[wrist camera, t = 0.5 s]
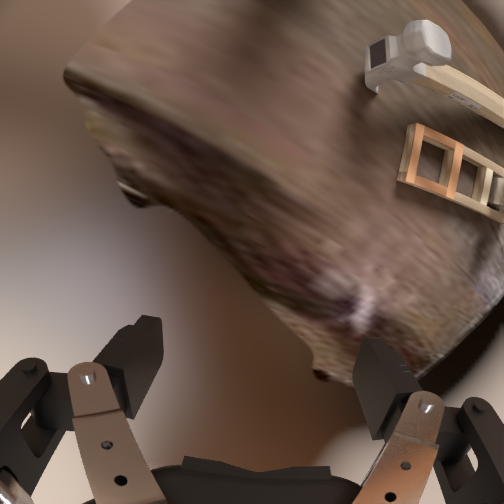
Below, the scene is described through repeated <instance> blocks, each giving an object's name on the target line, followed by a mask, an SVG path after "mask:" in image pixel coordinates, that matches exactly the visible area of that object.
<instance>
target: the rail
mask: <svg viewBox="0 0 504 504" xmlns="http://www.w3.org/2000/svg"><path fill="white" fill-rule="evenodd" d="M422 140H423V141H425V142H428V143H430V144H432V145H434V146H437V147H439V148H441V149H443V150H445V151H444V157H443V162H442V167H441V173H440V177H439V182H438V183H435V182H433V181H430V180H428V179H425V178H423V177H420V176H418V175H416V171H417V166H418V161H419V156H420V151H421V146H422ZM462 159H464V160H466V161H467V162H469V163H471V164H473V165H475V166H477V173H476V178H475V183H474V188H473V193H472V198H469V197H467V196H464V195H462V194H460V193H458V192H456V187H457V183H458V178H459V172H460V167H461V161H462ZM492 176H495V177H497V178H504V169H503V168H502V167H500V166H498V165H497V164H495V163H494V162H492V161H490V160H488V159H487V158H485V157H483V156H482V155H480V154H478V153H476V152H474V151H473V150H471V149H469V148H467V147H465V146H464V145H463V144H461V143H459V142H457V141H455V140H453V139H451V138H449V137H447V136H445V135H443V134H441V133H439V132H437V131H435V130H432V129H430V128H428V127H426V126H424V125H421V124H419V123H414V124H410V125H408V126H407V132H406V138H405V143H404V149H403V154H402V159H401V164H400V168H399V173H398V177H397V181H400V182H403V183H406V184H409V185H411V186H414V187H417V188H420V189H422V190H425V191H427V192H430V193H433V194H435V195H438V196H440V197H443V198H445V199H448V200H450V201H452V202H455V203H457V204H460V205H462V206H464V207H466V208H469V209H471V210H473V211H476V212H478V213H480V214H482V215H484V216H486V217H489V218H491V219H493V220H495V221H497V222H499V223H501V224H504V210H502V209H499V211H496V210H494V209H492V208H490V207H488V206H487V202H488V197H489V192H490V187H491V182H492Z"/></svg>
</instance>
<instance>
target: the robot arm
mask: <svg viewBox="0 0 504 504" xmlns="http://www.w3.org/2000/svg"><path fill="white" fill-rule="evenodd" d="M163 353H164V350H163V332H162V320H161V318H159V317H152V316H146V315H142V316H141V317H140V318H139V319H138V320H137V322H136V323H135V324H134V325H127V326H125V327H123V328H122V329H120V330H118V332H117V333H116V334H115V335H114V336H113V338H112V339H111V340H110V341H109V343H108V344H107V345H106V346H105V347H104V348H103V350H102V351H101V352H100V353H99V354H98V356H97V357H96V358H95V359H94V360H93V362H83V363H79V364H77V365H75V366H73V367H72V368H71V369H70V370H69V372H68V373H56V372H49V370H48V367H47V364H46V363H45V362H44V361H43V360H41V359H39V358H26V359H23V360H21V361H19V362H18V363H17V364H15V366H14V367H13V368H12V369H11V370H10V371H9V372H8V373H7V374H6V375H5V376H4V377H3V378H2V379H1V380H0V504H34V503H33V500H32V499H31V495H32V493H33V491H34V489H35V487H36V485H37V483H38V481H39V479H40V477H41V476H42V474H43V472H44V470H45V468H46V466H47V464H48V462H49V461H50V459H51V457H52V455H53V453H54V451H55V450H56V448H57V446H58V444H59V442H60V441H61V439H62V437H63V435H64V434H65V432H66V431H75V435H76V439H77V443H78V447H79V451H80V455H81V458H82V462H83V465H84V468H85V472H86V475H87V478H88V481H89V484H90V487H91V490H92V493H93V496H94V499H92V500H89V501H87V502H85V503H83V504H418V503H419V500H420V498H421V496H422V493H423V491H424V488H425V486H426V483H427V480H428V478H429V475H430V472H431V470H432V467H434V470H435V473H436V476H437V478H438V481H439V484H440V487H441V490H442V493H443V496H444V499H445V502H446V504H504V424H503V423H502V421H501V419H500V418H499V416H498V415H497V413H496V412H495V410H494V409H493V407H492V406H491V405H490V404H489V403H488V402H487V401H485V400H484V399H481V398H478V397H470V398H468V399H466V400H465V402H464V403H463V405H462V407H461V408H455V407H446V406H444V403H443V401H442V400H441V399H440V398H439V397H438V396H437V395H435V394H433V393H430V392H427V391H423V390H422V389H421V387H420V385H419V384H418V382H417V380H416V379H415V377H414V375H413V374H412V372H410V369H409V367H408V366H406V363H405V361H404V359H403V358H402V356H401V355H399V354H398V353H397V352H395V351H394V350H393V349H389V347H388V346H387V344H386V342H385V341H384V339H383V338H378V337H365V338H364V339H363V340H362V342H361V346H360V349H359V352H358V356H357V359H356V362H355V365H354V369H353V376H352V377H353V384H354V387H355V390H356V392H357V395H358V398H359V401H360V404H361V407H362V409H363V412H364V415H365V418H366V421H367V425H368V428H369V431H370V433H371V437H372V440H380V439H384V441H385V444H384V446H383V447H382V449H381V451H380V453H379V454H378V456H377V458H376V459H375V461H374V463H373V465H372V466H371V468H370V470H369V471H368V473H367V474H366V476H365V478H364V479H363V481H362V482H361V484H360V485H358V484H356V483H354V482H352V481H350V480H347V479H344V478H341V477H337V476H332V475H331V472H330V467H329V466H318V467H317V466H315V467H291V468H285V469H280V470H273V471H267V472H253V471H249V470H246V469H243V468H239V467H236V466H233V465H230V464H226V463H223V462H220V461H213V460H207V459H200V458H194V457H188V456H184V459H183V463H182V465H171V466H164V467H159V468H156V469H152V470H150V469H149V467H148V465H147V463H146V461H145V459H144V457H143V455H142V453H141V451H140V449H139V446H138V444H137V442H136V440H135V438H134V435H133V433H132V431H131V429H130V426H129V424H128V422H127V419H126V418H130V419H134V418H135V416H136V414H137V412H138V410H139V408H140V406H141V404H142V402H143V399H144V398H145V396H146V394H147V392H148V390H149V388H150V386H151V384H152V382H153V380H154V378H155V376H156V374H157V372H158V370H159V368H160V366H161V364H162V360H163ZM29 413H31V416H30V418H29V419H28V420H27V422H26V423H25V425H24V426H23V428H22V429H21V425H22V422H23V421H24V419H25V418H26V417H27V415H28V414H29ZM471 448H472V449H473V451H474V453H475V455H476V457H477V459H478V468H477V470H476V472H475V470H474V468H473V466H472V464H471V462H470V459H469V457H468V455H467V453H468V452H469V450H470V449H471Z"/></svg>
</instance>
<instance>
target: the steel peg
mask: <svg viewBox="0 0 504 504" xmlns="http://www.w3.org/2000/svg"><path fill="white" fill-rule="evenodd" d="M487 204H489V205H491V206H493V207H495V208H498V209H502V210H504V178H497V177H492V182H491V187H490V192H489V197H488V202H487Z"/></svg>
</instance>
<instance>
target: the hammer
mask: <svg viewBox="0 0 504 504" xmlns="http://www.w3.org/2000/svg"><path fill="white" fill-rule="evenodd" d="M450 61H451V44H450V41H449V38H448V35H447V34H446V33H445V32H444V31H443V30H442V29H441V28H440V27H439V26H438V25H436V24H434V23H432V22H430V21H428V20H418V21H417V20H416V21H411V22H409V23H408V24H407V25H406V27H405V28H404V31H403V34H401V35H399V36H387V35H385V36H383V37H381V38H379V39H377V40H375V41H373V42H372V43H370V44H368V45H367V46H365V50H364V64H365V84H366V86H367V88H369V89H371V90H372V91H374V92H375V93H377V94H378V85H379V84H380V83H381V82H382V81H384V80H385V79H394V80H397V81H400V82H403V83H406V82H409V81H410V82H412V83H415V84H418V85H420V86H423V87H426V88H428V89H431V90H433V91H435V92H437V93H439V94H441V95H443V96H445V97H448V98H450V99H452V100H454V101H456V102H457V103H459V104H461V105H463V106H465V107H466V108H468V109H470V110H472V111H473V112H475V113H477V114H479V115H481V116H483V117H484V118H486V119H488V120H490V121H492V122H493V123H495V124H497V125H498V126H500V127H502V128H503V129H504V99H503V98H502V97H500V96H499V95H497V94H496V93H494V92H493V91H491V90H490V89H488V88H487V87H485V86H484V85H482V84H480V83H479V82H477V81H475V80H474V79H472V78H470V77H469V76H467V75H465V74H463V73H461V72H460V71H458V70H456V69H454V68H452V67H450V66H448V65H446V64H448V63H449V62H450Z"/></svg>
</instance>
